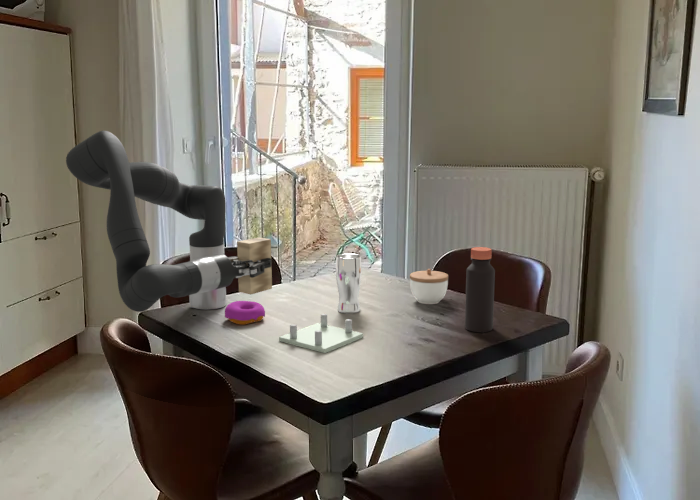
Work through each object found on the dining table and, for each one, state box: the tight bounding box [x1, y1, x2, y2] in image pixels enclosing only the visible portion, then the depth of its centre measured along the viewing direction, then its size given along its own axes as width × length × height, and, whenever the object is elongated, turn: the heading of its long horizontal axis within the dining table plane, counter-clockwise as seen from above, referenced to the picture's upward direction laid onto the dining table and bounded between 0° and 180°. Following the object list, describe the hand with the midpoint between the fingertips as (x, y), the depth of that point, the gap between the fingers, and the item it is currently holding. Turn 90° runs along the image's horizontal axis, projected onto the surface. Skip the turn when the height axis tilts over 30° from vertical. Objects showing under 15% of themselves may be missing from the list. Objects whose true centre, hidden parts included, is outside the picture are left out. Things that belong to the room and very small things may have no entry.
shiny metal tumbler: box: [335, 253, 363, 315], centre depth 188 cm, size 7×7×15 cm
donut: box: [224, 300, 266, 326], centre depth 181 cm, size 10×10×5 cm
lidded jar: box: [409, 268, 449, 305], centre depth 197 cm, size 11×11×9 cm
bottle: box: [464, 246, 496, 333], centre depth 171 cm, size 7×7×20 cm
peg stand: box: [278, 313, 364, 354], centre depth 165 cm, size 14×14×4 cm
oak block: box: [236, 237, 273, 295], centre depth 165 cm, size 7×4×12 cm, turn 142°
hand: (263, 261), depth 167 cm, fingers closed on oak block, 4 cm apart
